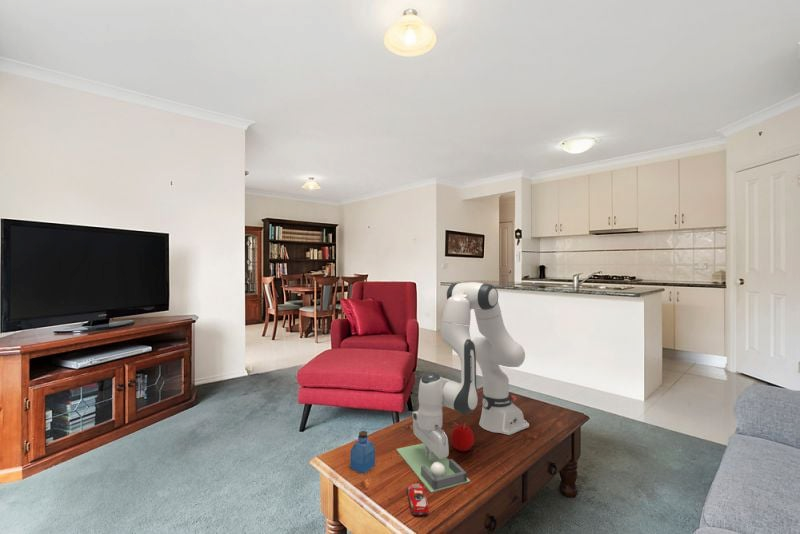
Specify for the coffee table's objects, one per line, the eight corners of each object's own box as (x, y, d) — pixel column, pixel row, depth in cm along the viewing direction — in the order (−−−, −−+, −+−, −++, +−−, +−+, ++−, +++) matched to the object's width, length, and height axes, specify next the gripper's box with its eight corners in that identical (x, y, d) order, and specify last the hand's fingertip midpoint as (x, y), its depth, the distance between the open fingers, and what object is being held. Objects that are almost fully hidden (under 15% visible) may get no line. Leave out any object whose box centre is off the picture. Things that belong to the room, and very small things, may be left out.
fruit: (472, 456, 132) (473, 430, 132) (449, 452, 135) (449, 426, 135) (475, 444, 141) (475, 419, 141) (452, 441, 143) (452, 416, 143)
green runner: (430, 442, 142) (430, 441, 142) (470, 481, 116) (470, 480, 116) (396, 449, 136) (396, 448, 136) (430, 492, 110) (430, 491, 110)
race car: (406, 489, 113) (406, 476, 113) (423, 488, 113) (423, 476, 113) (410, 518, 99) (410, 504, 99) (429, 517, 100) (429, 503, 100)
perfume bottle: (364, 473, 120) (364, 438, 120) (350, 468, 123) (350, 434, 123) (374, 465, 125) (375, 431, 125) (361, 460, 129) (361, 427, 129)
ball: (439, 466, 122) (437, 455, 120) (449, 476, 118) (447, 465, 116) (428, 474, 120) (426, 464, 118) (437, 485, 116) (435, 474, 114)
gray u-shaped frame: (451, 467, 125) (451, 458, 125) (466, 481, 116) (466, 472, 116) (420, 475, 120) (420, 466, 120) (434, 491, 111) (434, 481, 111)
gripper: (453, 430, 119) (453, 471, 119) (424, 408, 138) (424, 443, 138) (437, 434, 117) (437, 475, 117) (410, 410, 135) (409, 446, 135)
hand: (429, 458), depth 127 cm, fingers closed
